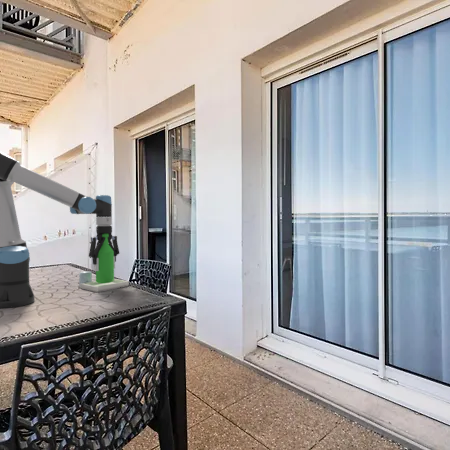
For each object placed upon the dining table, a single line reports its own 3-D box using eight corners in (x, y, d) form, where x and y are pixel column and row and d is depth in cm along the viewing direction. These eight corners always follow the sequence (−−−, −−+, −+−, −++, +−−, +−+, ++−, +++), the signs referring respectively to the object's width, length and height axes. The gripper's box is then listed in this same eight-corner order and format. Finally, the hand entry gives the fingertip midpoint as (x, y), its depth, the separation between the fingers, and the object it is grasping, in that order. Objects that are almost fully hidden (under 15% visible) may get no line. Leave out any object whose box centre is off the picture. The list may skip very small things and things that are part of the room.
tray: (97, 292, 155) (97, 287, 155) (80, 288, 164) (80, 283, 164) (128, 285, 169) (128, 281, 169) (111, 282, 178) (111, 278, 178)
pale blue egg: (83, 287, 167) (83, 273, 166) (77, 285, 170) (76, 272, 170) (94, 285, 171) (93, 272, 171) (87, 284, 175) (87, 271, 175)
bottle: (110, 283, 162) (109, 233, 161) (93, 283, 162) (92, 233, 162) (116, 280, 171) (115, 232, 170) (100, 280, 171) (99, 233, 170)
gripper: (88, 226, 155) (89, 273, 155) (126, 225, 172) (126, 267, 173) (80, 226, 159) (80, 271, 160) (117, 225, 177) (118, 266, 177)
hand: (104, 269), depth 166 cm, fingers closed on bottle, 9 cm apart
